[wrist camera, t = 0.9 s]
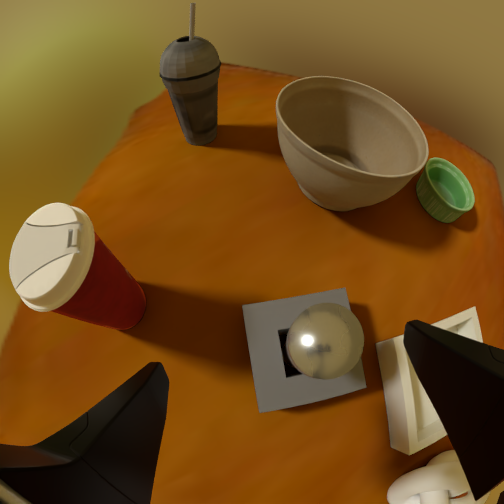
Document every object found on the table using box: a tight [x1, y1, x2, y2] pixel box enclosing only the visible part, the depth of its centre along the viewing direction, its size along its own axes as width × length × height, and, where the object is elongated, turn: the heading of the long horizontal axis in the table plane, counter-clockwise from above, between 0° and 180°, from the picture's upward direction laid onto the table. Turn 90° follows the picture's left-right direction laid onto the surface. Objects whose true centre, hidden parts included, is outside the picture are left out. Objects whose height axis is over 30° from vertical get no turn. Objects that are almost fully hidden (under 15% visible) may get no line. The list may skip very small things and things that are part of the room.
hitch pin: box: [282, 303, 364, 380], centre depth 20 cm, size 5×5×10 cm
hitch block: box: [242, 288, 366, 413], centre depth 23 cm, size 9×9×4 cm
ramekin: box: [416, 158, 475, 223], centre depth 30 cm, size 9×9×4 cm
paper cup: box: [9, 203, 146, 330], centre depth 20 cm, size 8×8×14 cm
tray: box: [375, 306, 483, 455], centre depth 21 cm, size 12×12×4 cm
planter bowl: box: [276, 76, 428, 211], centre depth 28 cm, size 16×16×11 cm
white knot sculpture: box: [387, 450, 491, 504], centre depth 12 cm, size 11×12×9 cm
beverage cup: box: [160, 3, 221, 145], centre depth 27 cm, size 7×7×20 cm
